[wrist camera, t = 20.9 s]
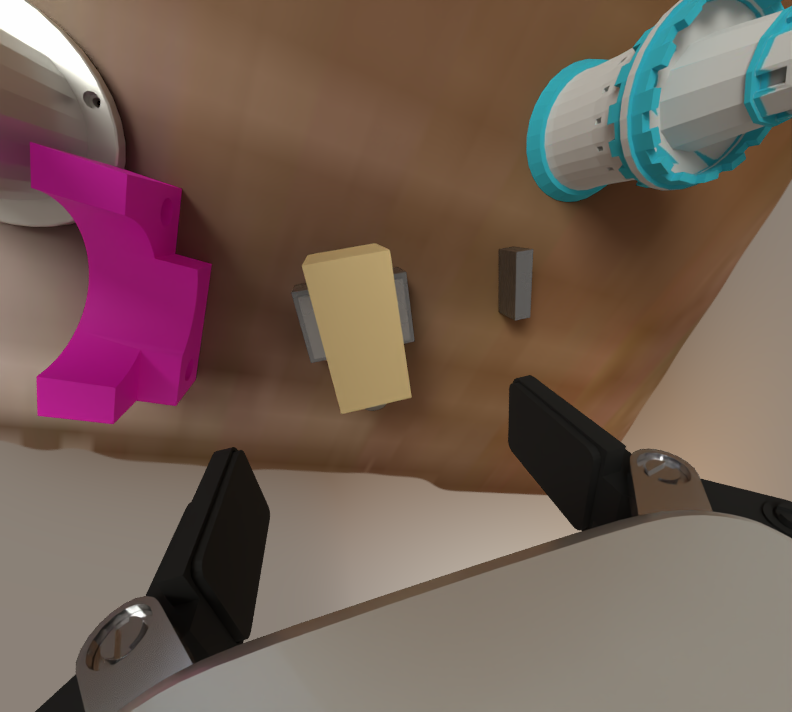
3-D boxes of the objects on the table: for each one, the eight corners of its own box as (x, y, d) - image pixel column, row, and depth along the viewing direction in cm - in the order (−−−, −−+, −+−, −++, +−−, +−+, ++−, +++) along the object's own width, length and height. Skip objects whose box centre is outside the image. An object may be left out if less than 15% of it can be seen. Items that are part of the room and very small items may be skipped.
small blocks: (312, 349, 29) (310, 364, 26) (294, 285, 27) (290, 293, 24) (512, 309, 32) (532, 318, 29) (513, 246, 29) (535, 249, 26)
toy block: (195, 379, 28) (158, 429, 21) (109, 365, 26) (37, 415, 19) (220, 201, 23) (184, 193, 17) (118, 167, 21) (29, 141, 15)
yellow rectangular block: (343, 395, 28) (347, 437, 22) (307, 255, 23) (301, 265, 17) (398, 382, 28) (415, 420, 23) (375, 243, 23) (389, 249, 18)
